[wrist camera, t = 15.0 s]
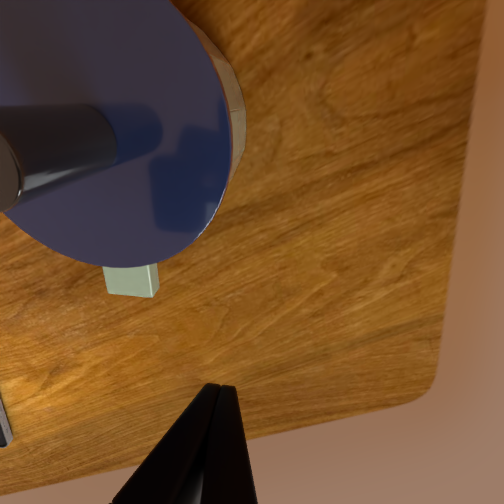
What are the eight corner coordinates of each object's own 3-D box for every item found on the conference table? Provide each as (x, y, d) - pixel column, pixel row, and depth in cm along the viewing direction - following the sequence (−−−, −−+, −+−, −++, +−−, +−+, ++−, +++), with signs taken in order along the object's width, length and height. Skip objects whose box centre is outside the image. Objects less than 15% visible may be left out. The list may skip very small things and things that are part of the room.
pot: (251, -65, 13) (223, -187, 8) (243, 253, 20) (224, 314, 15) (33, -65, 14) (-141, -175, 8) (97, 241, 21) (27, 294, 15)
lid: (239, -42, 9) (179, -206, 4) (234, 266, 14) (203, 360, 9) (-83, -45, 10) (-451, -185, 5) (16, 247, 15) (-121, 322, 10)
